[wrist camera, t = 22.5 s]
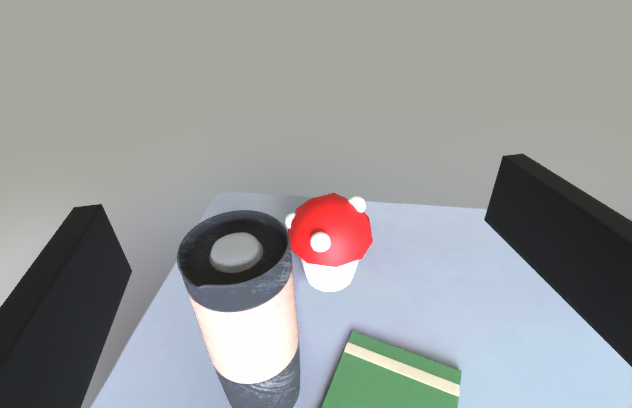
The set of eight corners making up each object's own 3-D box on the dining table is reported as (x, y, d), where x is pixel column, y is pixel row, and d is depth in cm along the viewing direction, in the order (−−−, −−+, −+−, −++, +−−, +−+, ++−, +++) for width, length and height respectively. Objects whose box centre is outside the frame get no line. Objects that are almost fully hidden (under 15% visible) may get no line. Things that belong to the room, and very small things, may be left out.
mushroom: (291, 308, 43) (284, 235, 36) (287, 247, 52) (282, 179, 44) (375, 299, 44) (385, 227, 36) (358, 241, 52) (363, 173, 45)
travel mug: (300, 348, 38) (289, 205, 26) (305, 424, 32) (294, 281, 20) (230, 356, 38) (187, 212, 26) (222, 434, 32) (161, 293, 20)
